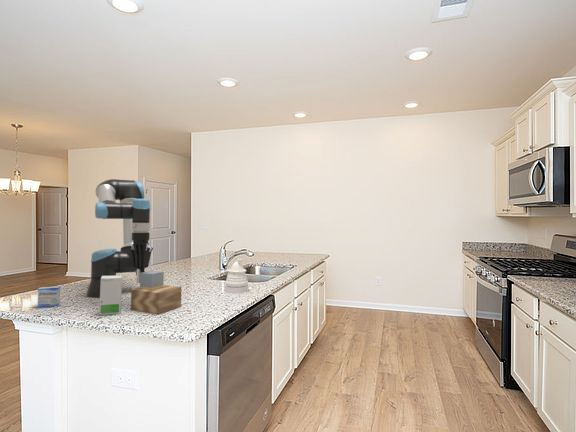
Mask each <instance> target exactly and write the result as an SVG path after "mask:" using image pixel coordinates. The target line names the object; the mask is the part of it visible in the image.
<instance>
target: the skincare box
mask: <svg viewBox="0 0 576 432" xmlns="http://www.w3.org/2000/svg"><path fill="white" fill-rule="evenodd" d="M122 293H123V275H116V276H102V277H101V285H100V297H99V308H98V309H99V311H98V315H99V316H105V315H106V316H107V315H120V314H121V313H122V312H121V311H122V296H123V295H122Z"/></svg>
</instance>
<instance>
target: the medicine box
mask: <svg viewBox="0 0 576 432" xmlns="http://www.w3.org/2000/svg"><path fill="white" fill-rule="evenodd" d="M60 304H61V286H60V285H55V286H54V285H53V286H43V287H42V286H41V287H39V288H37V308H38V309H43V308H42V307H46V308H54V306H57V307H59V306H60Z"/></svg>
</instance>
